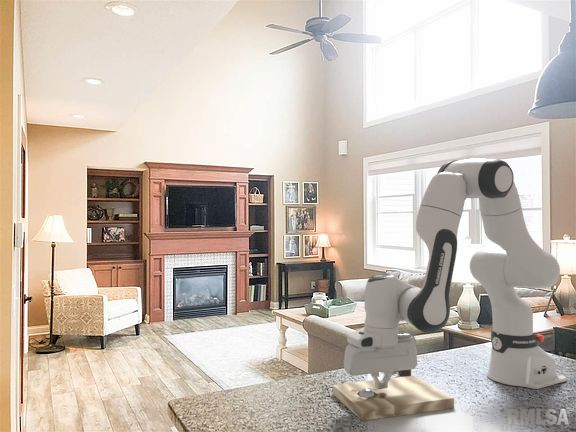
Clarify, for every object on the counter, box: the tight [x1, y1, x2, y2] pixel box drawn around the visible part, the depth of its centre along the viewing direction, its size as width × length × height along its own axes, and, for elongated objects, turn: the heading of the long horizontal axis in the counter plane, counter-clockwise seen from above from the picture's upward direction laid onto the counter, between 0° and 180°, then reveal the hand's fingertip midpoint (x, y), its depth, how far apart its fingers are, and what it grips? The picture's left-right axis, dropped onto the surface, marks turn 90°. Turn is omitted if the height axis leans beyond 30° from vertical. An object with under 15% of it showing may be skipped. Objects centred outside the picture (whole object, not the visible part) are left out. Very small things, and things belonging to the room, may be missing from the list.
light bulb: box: [397, 350, 418, 377], centre depth 145 cm, size 7×7×11 cm
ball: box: [359, 388, 374, 398], centre depth 122 cm, size 4×4×4 cm
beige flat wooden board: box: [332, 375, 455, 422], centre depth 124 cm, size 26×18×2 cm
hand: (381, 388), depth 123 cm, fingers closed
